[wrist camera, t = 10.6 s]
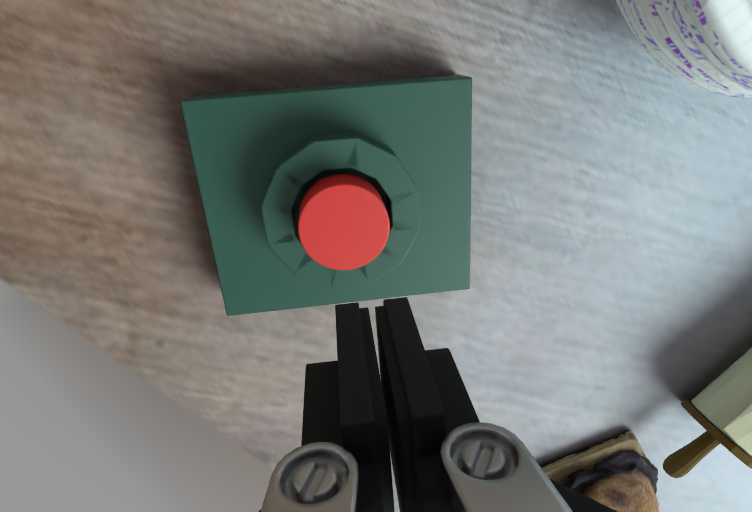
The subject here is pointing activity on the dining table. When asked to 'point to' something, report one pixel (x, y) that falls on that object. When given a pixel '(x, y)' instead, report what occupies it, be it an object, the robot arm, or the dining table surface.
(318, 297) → the button block
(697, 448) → the rolling pin
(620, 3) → the paper bowls
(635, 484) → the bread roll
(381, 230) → the button
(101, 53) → the dining table surface
